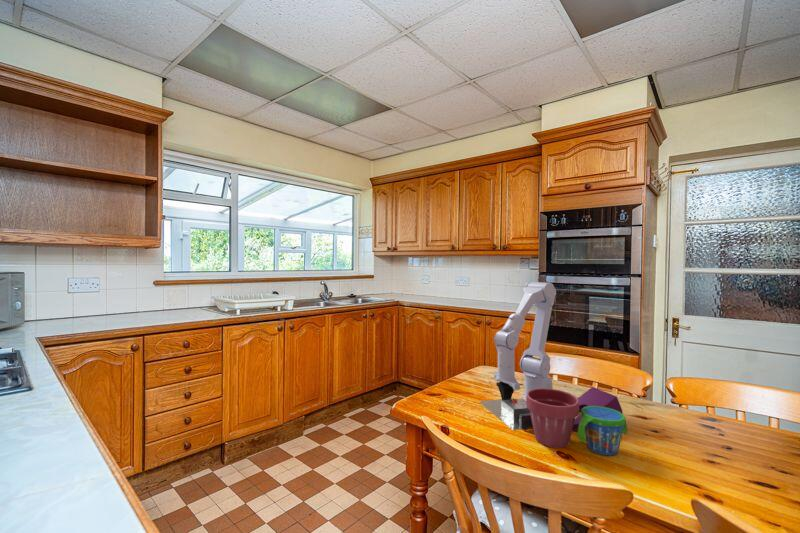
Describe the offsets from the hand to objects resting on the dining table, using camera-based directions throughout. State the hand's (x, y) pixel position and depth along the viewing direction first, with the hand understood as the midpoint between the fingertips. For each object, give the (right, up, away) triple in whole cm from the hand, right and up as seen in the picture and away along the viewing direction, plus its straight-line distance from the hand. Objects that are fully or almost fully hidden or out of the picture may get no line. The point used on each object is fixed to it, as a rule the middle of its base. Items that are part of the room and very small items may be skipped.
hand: (506, 403), depth 130 cm
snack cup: (+18, -2, -29) cm, 34 cm away
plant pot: (+6, -2, -24) cm, 24 cm away
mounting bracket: (+22, -2, -13) cm, 26 cm away
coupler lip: (+1, -2, -4) cm, 5 cm away
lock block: (+2, -1, -8) cm, 8 cm away
